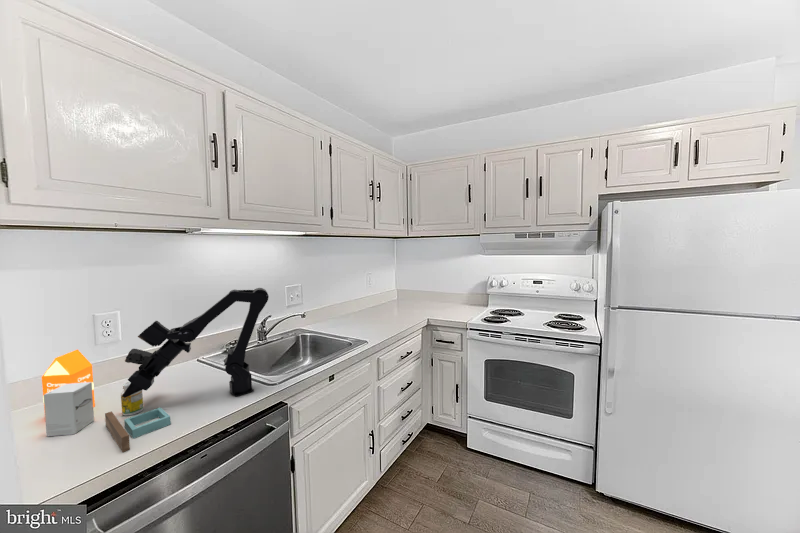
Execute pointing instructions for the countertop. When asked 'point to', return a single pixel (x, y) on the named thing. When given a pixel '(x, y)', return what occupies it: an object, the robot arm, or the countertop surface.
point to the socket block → (149, 426)
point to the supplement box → (68, 408)
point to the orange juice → (67, 372)
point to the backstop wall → (117, 431)
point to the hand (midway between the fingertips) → (126, 393)
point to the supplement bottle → (131, 402)
